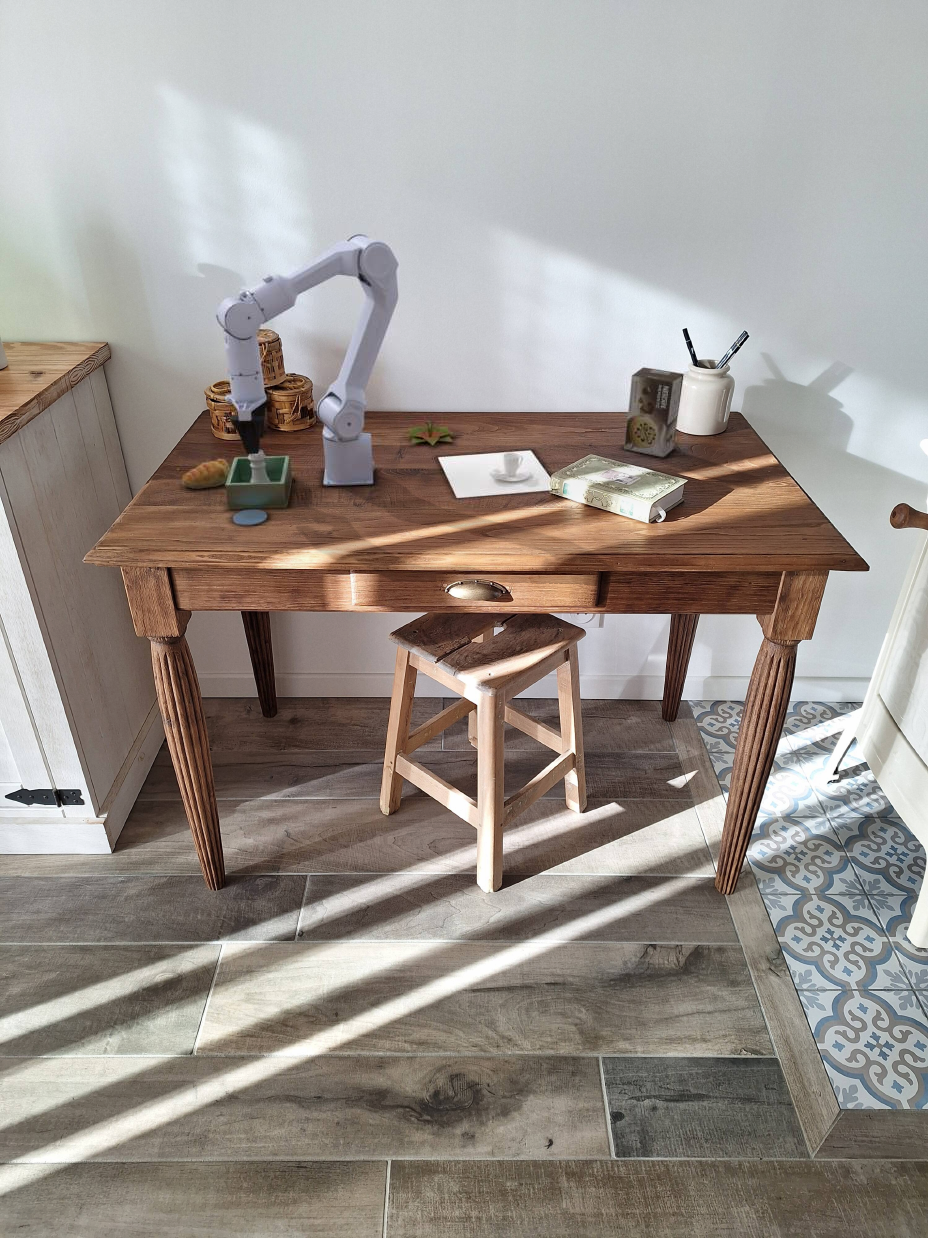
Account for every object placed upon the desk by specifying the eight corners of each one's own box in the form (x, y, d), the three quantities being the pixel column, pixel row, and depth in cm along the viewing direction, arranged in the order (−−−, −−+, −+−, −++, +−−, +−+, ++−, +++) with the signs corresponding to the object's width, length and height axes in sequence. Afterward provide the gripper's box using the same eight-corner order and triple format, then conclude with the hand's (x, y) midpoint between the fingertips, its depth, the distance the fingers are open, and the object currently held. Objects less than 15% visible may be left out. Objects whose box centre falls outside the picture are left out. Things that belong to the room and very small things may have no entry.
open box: (292, 479, 166) (289, 455, 164) (286, 507, 156) (283, 483, 153) (238, 480, 166) (234, 457, 163) (229, 509, 155) (225, 485, 152)
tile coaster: (268, 510, 155) (268, 508, 155) (265, 525, 150) (265, 523, 150) (235, 511, 154) (235, 509, 154) (230, 526, 149) (230, 524, 149)
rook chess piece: (252, 498, 158) (246, 458, 154) (247, 489, 161) (241, 449, 157) (276, 494, 159) (270, 454, 155) (270, 485, 163) (265, 445, 159)
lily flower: (453, 426, 191) (453, 406, 188) (460, 446, 181) (461, 426, 179) (400, 428, 190) (399, 409, 187) (404, 449, 180) (404, 428, 177)
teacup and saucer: (491, 485, 165) (492, 465, 162) (482, 468, 171) (483, 449, 169) (535, 481, 166) (536, 462, 164) (524, 465, 173) (525, 446, 170)
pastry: (191, 494, 160) (187, 475, 158) (176, 483, 165) (173, 464, 163) (237, 481, 165) (234, 463, 163) (221, 471, 170) (218, 453, 167)
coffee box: (674, 448, 181) (685, 373, 172) (663, 458, 176) (674, 381, 168) (634, 439, 185) (643, 365, 176) (622, 449, 180) (631, 373, 172)
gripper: (227, 359, 154) (238, 431, 161) (215, 384, 142) (227, 461, 149) (267, 358, 154) (275, 430, 162) (258, 383, 142) (268, 460, 150)
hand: (255, 445), depth 155 cm, fingers open, 7 cm apart
